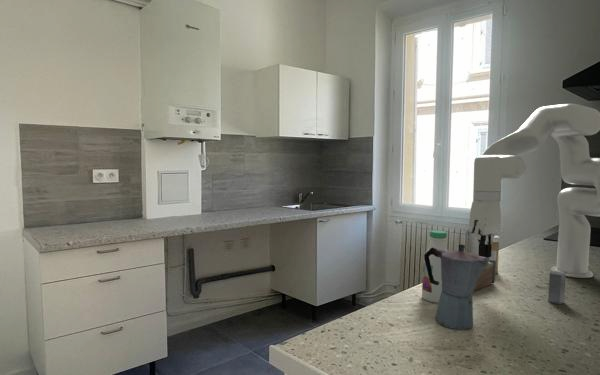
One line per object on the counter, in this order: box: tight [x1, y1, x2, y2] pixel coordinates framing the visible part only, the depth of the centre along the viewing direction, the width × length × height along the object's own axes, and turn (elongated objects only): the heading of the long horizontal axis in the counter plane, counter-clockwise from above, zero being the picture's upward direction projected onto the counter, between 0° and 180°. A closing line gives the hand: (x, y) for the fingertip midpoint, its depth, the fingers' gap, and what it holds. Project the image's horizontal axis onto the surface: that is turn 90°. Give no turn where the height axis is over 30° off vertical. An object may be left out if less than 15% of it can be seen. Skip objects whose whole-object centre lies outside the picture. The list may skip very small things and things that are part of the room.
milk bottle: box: [421, 229, 449, 304], centre depth 115 cm, size 8×8×20 cm
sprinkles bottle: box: [489, 235, 501, 274], centre depth 145 cm, size 5×5×13 cm
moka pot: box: [423, 244, 489, 331], centre depth 98 cm, size 10×15×20 cm, turn 58°
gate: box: [473, 260, 496, 292], centre depth 125 cm, size 3×18×8 cm, turn 130°
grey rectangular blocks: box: [478, 255, 567, 305], centre depth 124 cm, size 3×26×8 cm, turn 35°
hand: (484, 256), depth 121 cm, fingers closed
